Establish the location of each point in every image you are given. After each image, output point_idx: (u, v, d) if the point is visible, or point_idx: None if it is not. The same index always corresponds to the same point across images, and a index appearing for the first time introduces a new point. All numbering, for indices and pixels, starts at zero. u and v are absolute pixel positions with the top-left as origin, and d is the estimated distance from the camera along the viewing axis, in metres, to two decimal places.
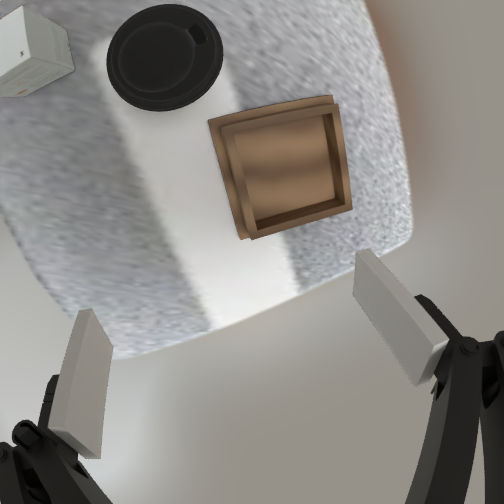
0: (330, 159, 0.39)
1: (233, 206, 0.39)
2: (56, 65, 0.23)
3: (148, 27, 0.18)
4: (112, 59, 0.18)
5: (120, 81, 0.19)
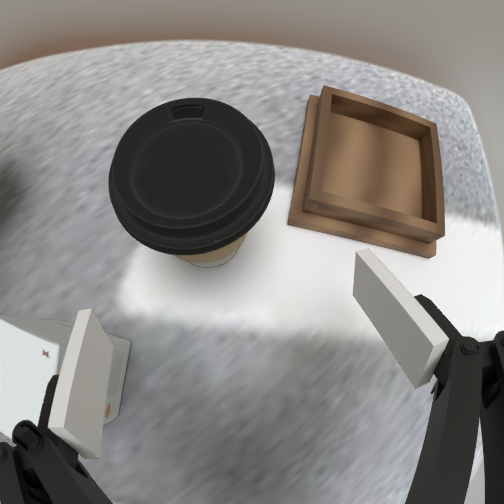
0: (378, 124, 0.32)
1: (398, 243, 0.29)
2: None
3: (138, 158, 0.15)
4: (147, 220, 0.14)
5: (187, 224, 0.14)
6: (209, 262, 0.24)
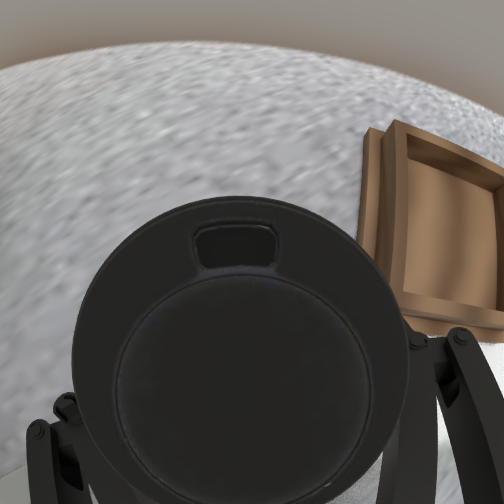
0: (452, 173, 0.23)
1: None
2: None
3: (128, 376, 0.06)
4: None
5: None
6: None
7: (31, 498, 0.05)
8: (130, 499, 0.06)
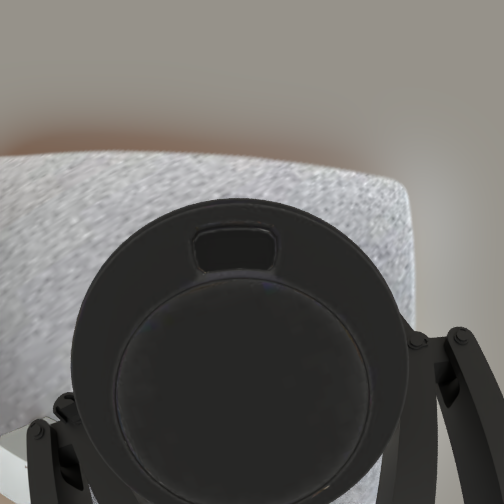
0: None
1: None
2: None
3: (127, 379, 0.06)
4: None
5: None
6: None
7: (31, 498, 0.05)
8: (130, 499, 0.06)
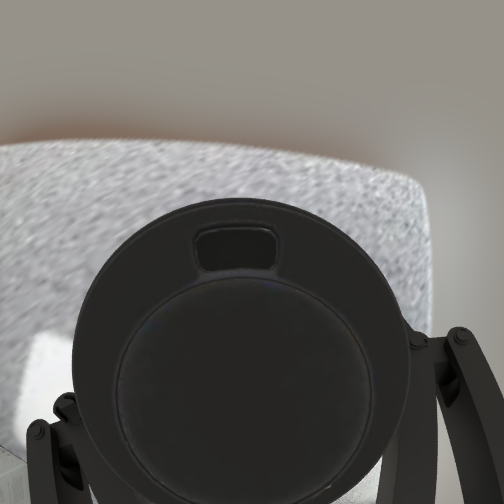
0: None
1: None
2: (0, 480, 0.16)
3: (128, 379, 0.06)
4: None
5: None
6: None
7: (31, 498, 0.05)
8: (130, 499, 0.06)
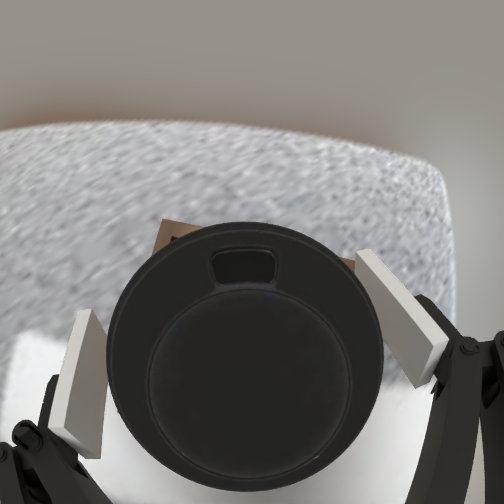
0: None
1: None
2: None
3: (158, 369, 0.08)
4: (195, 480, 0.07)
5: (262, 488, 0.07)
6: None
7: None
8: None
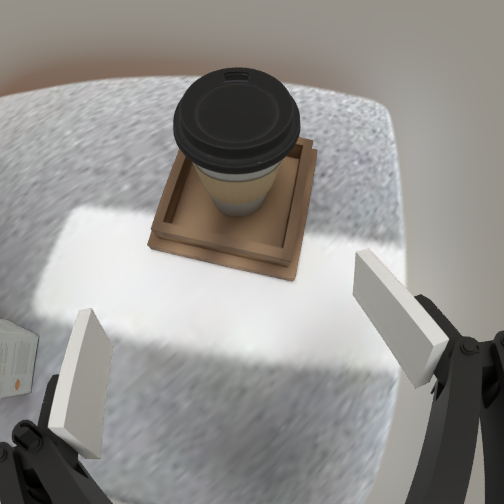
0: None
1: (249, 266, 0.32)
2: (9, 335, 0.25)
3: (200, 104, 0.20)
4: (210, 143, 0.19)
5: (240, 146, 0.19)
6: (243, 203, 0.29)
7: None
8: None
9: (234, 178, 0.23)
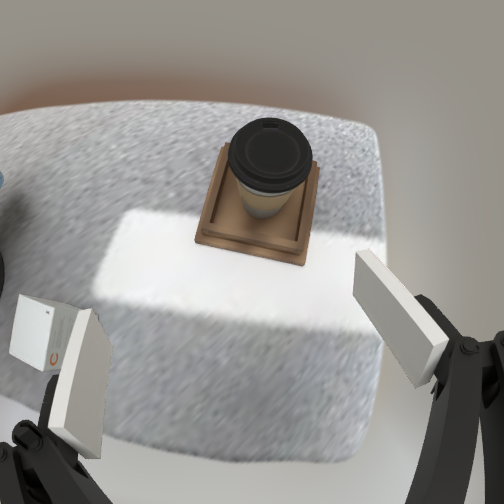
0: None
1: (272, 255, 0.44)
2: None
3: (248, 146, 0.32)
4: (258, 174, 0.31)
5: (277, 176, 0.31)
6: (269, 210, 0.41)
7: None
8: None
9: (268, 194, 0.35)
